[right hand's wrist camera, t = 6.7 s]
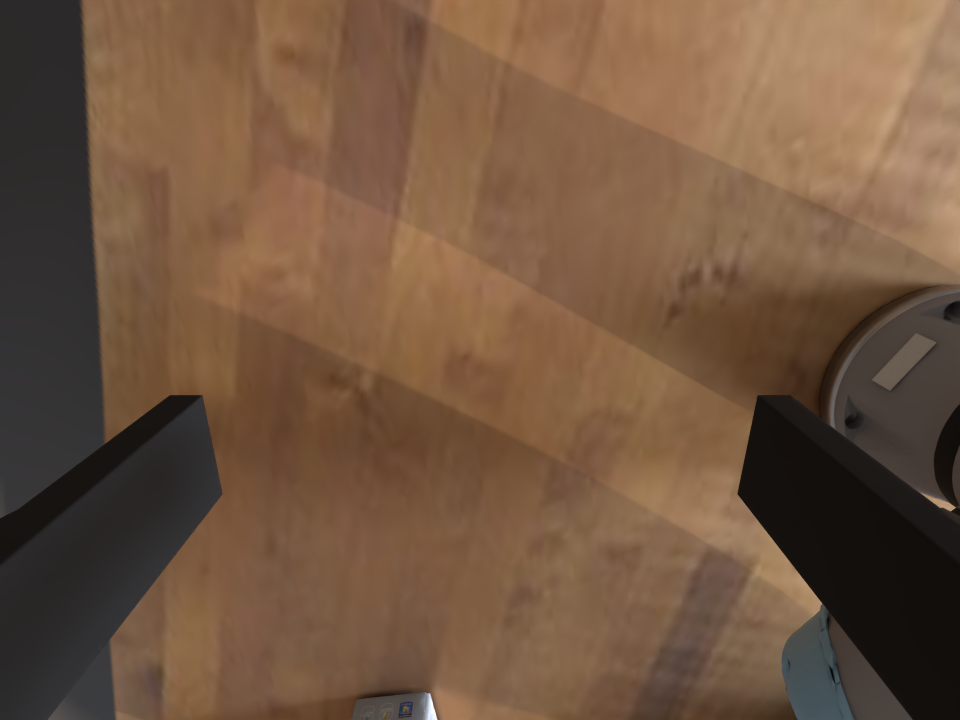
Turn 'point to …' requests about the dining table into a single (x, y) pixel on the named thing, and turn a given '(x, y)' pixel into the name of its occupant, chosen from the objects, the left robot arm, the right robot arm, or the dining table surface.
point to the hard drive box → (395, 707)
